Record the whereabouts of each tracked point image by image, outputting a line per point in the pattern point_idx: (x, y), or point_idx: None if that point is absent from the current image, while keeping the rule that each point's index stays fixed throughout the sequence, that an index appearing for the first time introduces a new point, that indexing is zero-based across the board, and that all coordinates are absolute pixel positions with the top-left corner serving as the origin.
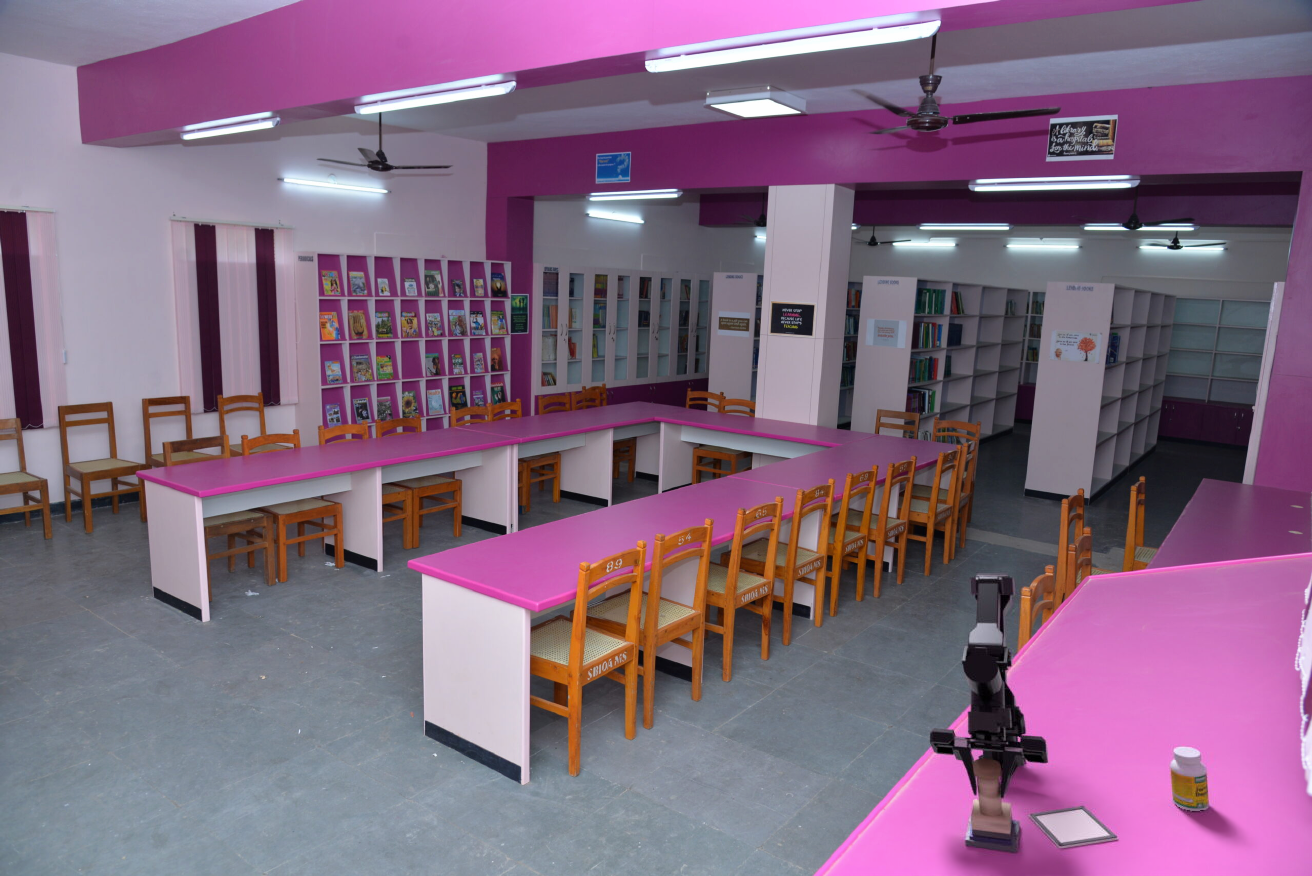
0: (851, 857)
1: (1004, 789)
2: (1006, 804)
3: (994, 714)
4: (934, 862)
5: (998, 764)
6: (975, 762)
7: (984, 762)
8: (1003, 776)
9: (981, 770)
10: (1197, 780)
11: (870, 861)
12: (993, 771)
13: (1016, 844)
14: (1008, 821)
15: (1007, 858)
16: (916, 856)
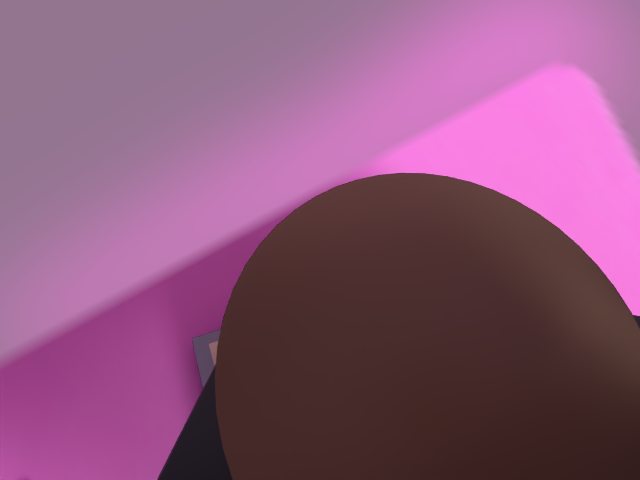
0: (577, 86)
1: (210, 376)
2: None
3: None
4: (403, 160)
5: (274, 477)
6: (608, 330)
7: (510, 406)
8: (216, 447)
9: (409, 173)
10: None
11: (532, 92)
12: (270, 234)
13: (197, 357)
14: (215, 355)
15: (218, 291)
16: (460, 161)
